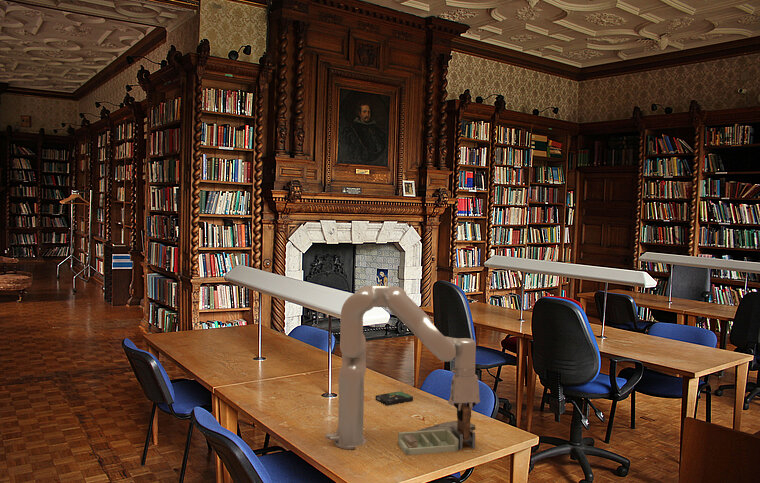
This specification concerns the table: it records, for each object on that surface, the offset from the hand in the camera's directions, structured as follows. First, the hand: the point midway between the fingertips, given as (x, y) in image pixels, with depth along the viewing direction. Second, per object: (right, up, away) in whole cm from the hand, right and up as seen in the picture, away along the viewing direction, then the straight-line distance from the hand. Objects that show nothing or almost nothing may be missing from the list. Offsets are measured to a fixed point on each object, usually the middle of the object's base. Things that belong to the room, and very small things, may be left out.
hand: (463, 419), depth 227 cm
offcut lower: (-20, -10, -4) cm, 23 cm away
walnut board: (0, -7, 0) cm, 7 cm away
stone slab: (-7, -11, +16) cm, 20 cm away
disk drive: (-25, -8, +55) cm, 61 cm away
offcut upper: (-20, -7, -4) cm, 22 cm away
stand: (0, -11, +1) cm, 11 cm away
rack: (-14, -11, -3) cm, 18 cm away
